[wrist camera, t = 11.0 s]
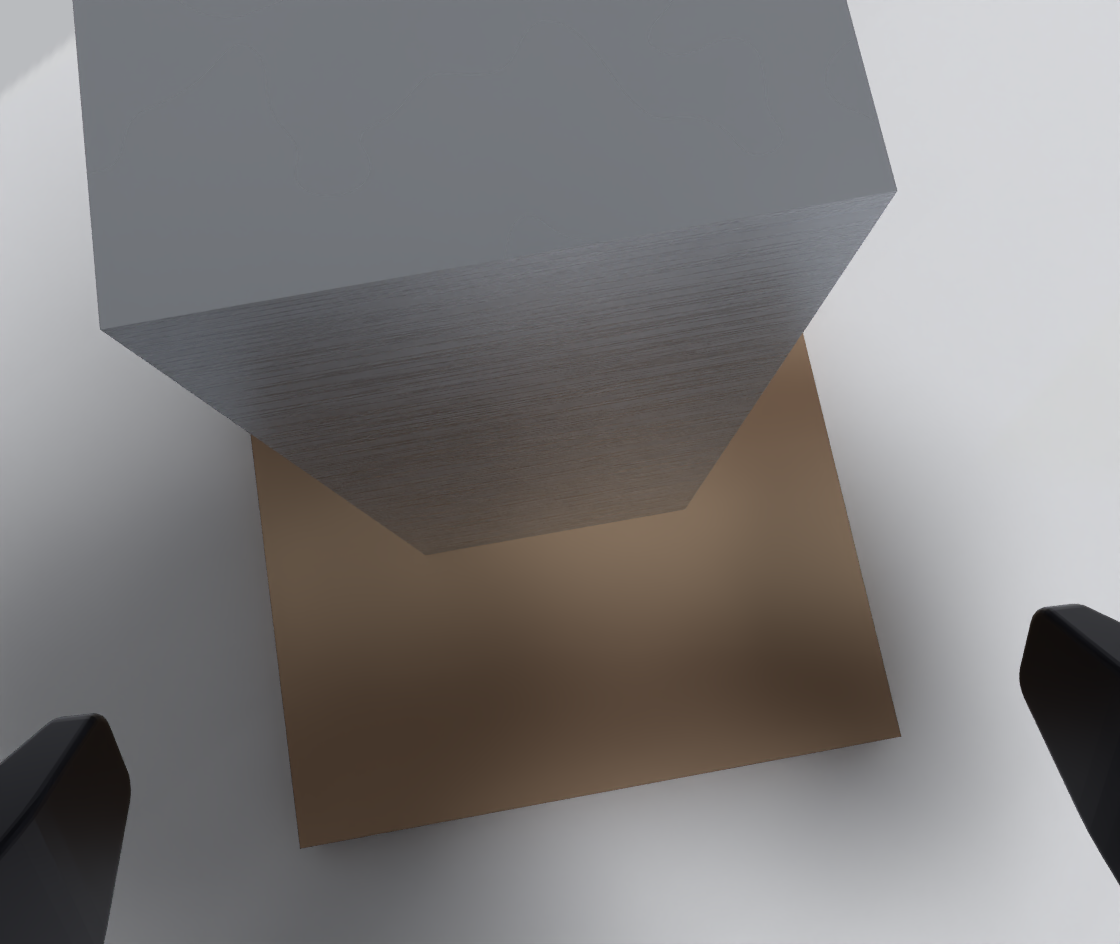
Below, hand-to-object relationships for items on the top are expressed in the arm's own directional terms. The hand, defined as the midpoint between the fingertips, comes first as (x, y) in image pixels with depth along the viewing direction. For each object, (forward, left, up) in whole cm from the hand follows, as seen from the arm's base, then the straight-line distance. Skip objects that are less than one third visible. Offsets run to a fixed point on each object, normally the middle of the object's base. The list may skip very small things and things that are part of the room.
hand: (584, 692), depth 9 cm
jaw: (+4, -4, -8) cm, 10 cm away
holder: (+4, -3, -9) cm, 11 cm away
